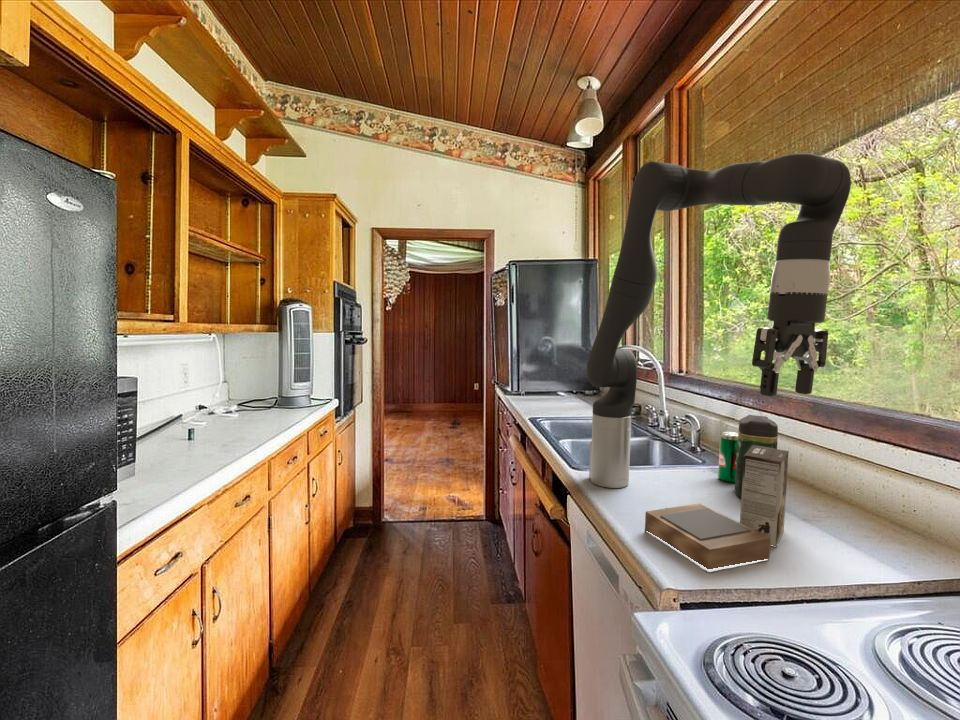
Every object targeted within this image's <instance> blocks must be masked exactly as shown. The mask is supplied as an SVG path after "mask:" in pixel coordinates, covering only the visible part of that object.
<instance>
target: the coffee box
mask: <svg viewBox="0 0 960 720" xmlns="http://www.w3.org/2000/svg"><path fill="white" fill-rule="evenodd" d="M788 467H789V450H786V449H785V450H784V449H778V448H777V449H775V448H770V447H764V446H757V445H752V446H751V448H750V449H749V450H748V451H747V452H746V453H745V455H744V464H743V481H742V497H740V498H741V499H740V500H741V501H740V514H739V516H740V517H739V523H741V524H743V525H745V526H747V527H749V528H751V529H753V530H755V531H757V532H759V533H761V534H763V535H765V536H767V537H769V538H770V545H773V546H777V547H778V545H777V544H779V543H780V540H781V538H782V536H783V533H784V530H785V517H786V516H785V514H786V501H787V500H786V499H787V485H788Z"/></svg>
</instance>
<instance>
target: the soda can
mask: <svg viewBox="0 0 960 720" xmlns="http://www.w3.org/2000/svg"><path fill="white" fill-rule="evenodd" d="M737 447H738V432H734V431H724V432H722V433H721V435H720V437H719V450H718V451H719V454H718V467H717V468H718V472H717V473H718V474H717V477H718V479H719V480H721V482H725V483H731V484H735V476H736V462H737Z"/></svg>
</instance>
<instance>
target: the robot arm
mask: <svg viewBox="0 0 960 720" xmlns="http://www.w3.org/2000/svg"><path fill="white" fill-rule="evenodd" d="M634 178H635V179H634V181H633V184H632V188H631V192H630V198H629V205H628V210H627V215H626V216H627V217H626V222H625V229H624V234H623V239H622V243H621V246H620V250H619V255H618V258H617V263H616V266H615V268H614V271H613V276H612V278H611V284H610V287H609V292H608V296H607V301H606V304H605V308H604V311H603V314H602V319H601V321H600V325H599V329H598V330H597V333H596V336H595V338H594V341H593V343H592V347H591V350H590V352H589V355H588V358H587V362H586V377H587V380H588V382H589V383H590V385H592V386H593V387H595V388H608V391H607V392H606V393H605V394H604V395H603V396H601V397H600V398H598V399H597V400H595V401H593V403H592V404H593V405H592V419H591V420H592V421H591V423H592V424H591V425H592V427H591V440H590V442H589V468H588V469H589V471H588V473H589V474H588V477H589V479H590V482H591V483H592V484H594V485H596V486H599V487H603V488H609V489H610V488H611V489H621V488H625V487H627V486H628V485H629V481H630V461H631V460H630V459H631V458H630V456H631V440H632V439H631V435H632V433H631V432H632V410H633V407H634V405H635V401H636V391H637V384H638V383H637V382H638V381H637V380H638V362H637V358H636V357H635V355H634V353H633V352H632V351H631V350H630V349H627V348H618V347H619V345H620V342H621V340H622V338H623V337H624V335H625V333H626V332H627V330H629V328H630V327H631V326H632V325H633V324H634V323H635V322H636V321H637V320H638V318H639V317H640V316H641V315H642V314H643V313H644V311H645V310H646V309H647V307H648V306H649V303H650V301H651V299H652V295H653V293H654V289H655V286H656V282H657V279H658V266H657V262H656V261H657V260H656V256H655V252H654V249H653V243H652V229H653V225H654V221H655V217H656V214H657V211H661V212H673V211H678V210H682V209H687V208H691V207H698V206H703V205H723V206H766V205H769V204H772V203H785V204H793V205H799V206H800V208H799V212H798V215H797V217H796V220H795V221H791V222H788V223H786V224H784V225H782V227H781V228H780V230H779V234H778V238H777V245H776V247H777V248H776V254H775V263H774V268H773V271H772V275H771V279H770V281H771V282H770V289H769V298H768V307H767V316H766V317H767V318H766V319H768V320H769V321H771V322H773V324H772V327H758V328H757V329H756V335H755V341H754V345H753V346H754V347H753V353H752V360H751V365H752V366H753V367H757V368H759V370H760V371H761V377H760V386H759V391H760V394H761V395H762V396H767V397H776V396H777V394H778V393H777V392H778V386H779V377H780V376H779V375H780V372H779V371H780V369H781V368H782V366H783V365H784V363H786V362H788V361H789V360H790V358H792V359H793V360H795V363H796V365H797V367H798V369H797V372H796V380H795V388H794V390H795V392H796V393H798V394H801V395H811V394H812V391H813V385H814V377H815V376H814V375H815V372H817V371H818V369H819V368H824V367H825V366H826V362H827V361H826V360H827V351H828V340H829V330H828V329H827V330H826V329H816V328H815V326H816V324H822V323H823V322H824V321H825V319H826V312H827V311H826V309H827V303H828V295H829V287H830V279H831V268H830V267H831V266H830V265H831V262H830V261H831V254H832V248H833V239H834V238H833V237H834V233H835V230H836V228H837V225H838V224H839V221H840V219H841V216H842V214H843V211H844V209H845V207H846V204H847V202H848V199H849V196H850V191H851V188H852V177H851V171H850V169H849V167H848V166H847V165H846V163H844V162H842V160H839V159H835V158H831V157H827V156H823V155H818V154H815V153H808V152H807V153H804V152H802V153H791V154H786V155H781V156H779V157H774V158H772V159H769V160H759V161H757V160H754V161H748V162H747V161H746V162H737V163H732V164H729V165H725V166H722V167H720V168H718V169H713V170H701V169H695V168H689V167H685V166H682V165H680V164H674V163H668V162H662V161H655V160H653V161H648V162H646V163H644V164H643V165H642V166H641V167H640V168H639V170H638V172H637V174H636V175H635V177H634ZM762 352H763V355H764V357H763V358H762ZM817 352H818V353H817ZM817 357H818V358H817ZM773 361H774V362H773Z"/></svg>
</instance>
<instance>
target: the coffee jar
mask: <svg viewBox="0 0 960 720" xmlns="http://www.w3.org/2000/svg"><path fill="white" fill-rule="evenodd" d="M738 423H739V424H738V432H737V433H738V447H737V462H736V476H735V483H734V492H735V494H736V495H737V496H738V497H740V498H741V497H742V481H743V464H744V455H745V453H746V452H747V451H748V450H749V449H750V448H751V446H752V445H757V446H764V447H770V448H775V449H778V440H779V439H778V437H779V436H778V435H779V427H778V424H777V423H776V422H775V421H774V420H772V419H770V418H769V417H768V416H765V415H753V414H748V415H746V416H744V417H742V418H740V419H739V421H738Z"/></svg>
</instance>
